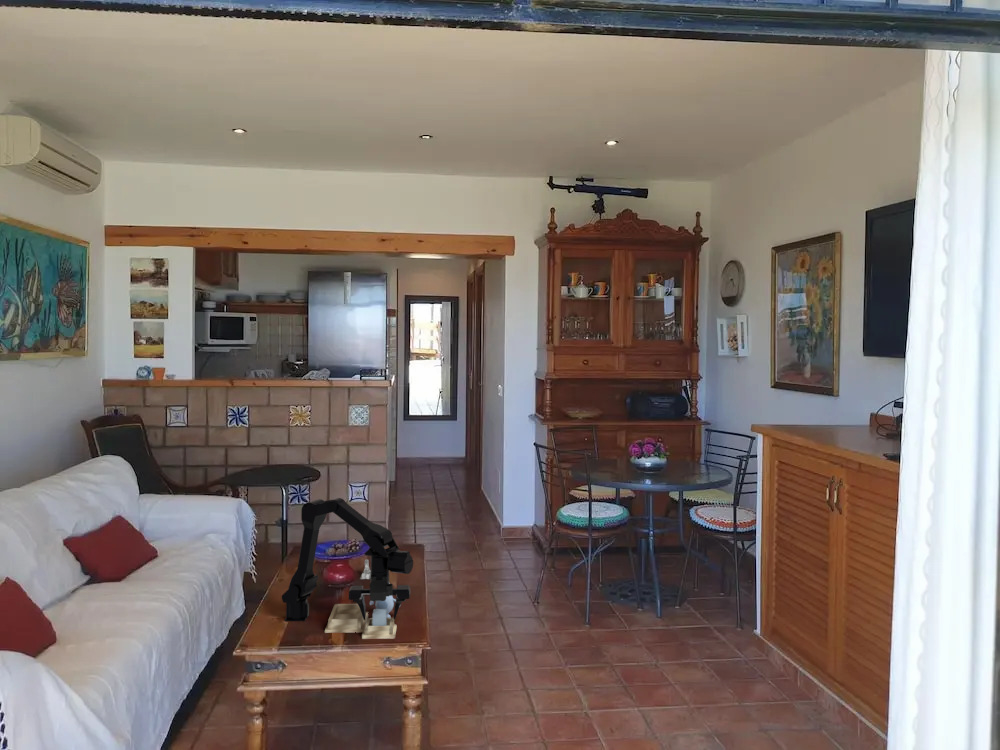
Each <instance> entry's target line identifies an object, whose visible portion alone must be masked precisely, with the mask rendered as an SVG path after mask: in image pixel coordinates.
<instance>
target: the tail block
mask: <svg viewBox="0 0 1000 750" xmlns="http://www.w3.org/2000/svg"><path fill="white" fill-rule="evenodd" d="M372 618H373V626H387V609H376V608H374V609H373V611H372Z"/></svg>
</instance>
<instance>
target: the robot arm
mask: <svg viewBox="0 0 1000 750" xmlns="http://www.w3.org/2000/svg"><path fill="white" fill-rule="evenodd" d="M330 513H334V514H335V515H336V516H337V517H338V518H340V520H342V521H343V522H345V523H346V524H347V525H349V526H350V527H351V528H352V529H354V530H355V531H356V532H357V533H359V534H360V535H361V537H362V539H363V542H364V543H365V544H366V545H367V546H368V547H369V548H368V550H366V551H365V552H364V555H365V556H369V557H370V570H371V577H370V583H369V588H364V585H352V586H350V588H349V590H348V600H350V601H352V602H353V603H355V604H358V605H359V607H360V610H361V613H362V616H363V619H364V620H365V619H366V612H367V611H366V602H365V601H366V600H365V596H369V600H370V601H374V602H376V601H385V600H386V596H396V598H395V600H396V602H394V611H393V617H394V621H395V620H396V618H397V614H398V611H399V609H400V607H401V605H402V602H404V603H405V602H406V600H409V599H410V598H411V597H410V596H411V585H408V584H400V585H399V584H397V588H393V587H394V586H393V583H390V573H395V574H397V573H398V574H403V575H404V574H405V575H409V574H410V573H411V572H412V571H413V567H414V559H413V556H412V555H411V551H410V550H400V547H399V546H398V544H397V542H396V541H395V539H394V537H393V533H392V532H391V530H390V529H388V528H387V527H384V526H383V525H381V524H377V523H373V522H372V521H370V520H369V519H368V518H366V517H365V516H364V515H362V513H360V512H359V511H357V510H356V509H355V508H353V507H352V506H350V505H349V504H348V503H347V502H346V501H345V500H344V498H342V497H338V498H335V499H328V500H323V499H321V498H320V499H319V498H318V499H314V500H311V501H309V502H305V503H304V504H303V505H302V507H301V511H300V514H301V515H300V517H301V518H300V519H301V522H302V525H303V532H302V538H301V542H300V543H301V544H300V550H299V556H298V562H297V567H296V571H295V572H294V574H293V575H292V577H291V579H290V582H289V584H288V589H287V590H286V591H285V592H284V593H283V594H282V595H281V600H282V603H285V609H286V610H285V619H284V622H305V621H306V620H307V619H308V617H309V615H310V602H308V598H309V597H311V595H312V592H313V591H314V590H315V588H317V587H318V579H319V575H317V574H315V572H314V570H313V569H314V563H315V558H316V557H315V555H316V551H317V545H318V538H319V533H320V528H321V526H322V525H323V523H324V522H325V519H326V518H327V514H330ZM389 583H390V584H389ZM399 606H400V607H399Z"/></svg>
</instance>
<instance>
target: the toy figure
mask: <svg viewBox="0 0 1000 750" xmlns="http://www.w3.org/2000/svg"><path fill="white" fill-rule="evenodd" d="M389 584H391V583H390V582H389ZM395 603H396V598H394V595H392V596H386V600H385V601H371V600H370V601H369V603H368V604H369V606H372V605H373V606H375V609H387V618H392V617H391V615H390V612H391V611H393V609H394V608H395ZM400 607H401V605H400V606H399V608H400Z"/></svg>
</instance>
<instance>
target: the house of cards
mask: <svg viewBox="0 0 1000 750" xmlns="http://www.w3.org/2000/svg"><path fill="white" fill-rule="evenodd" d="M369 565H370V562H369V559H364V569H363V572H362V573H361V575H360V577H359V580H371V569H370V566H369Z"/></svg>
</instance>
